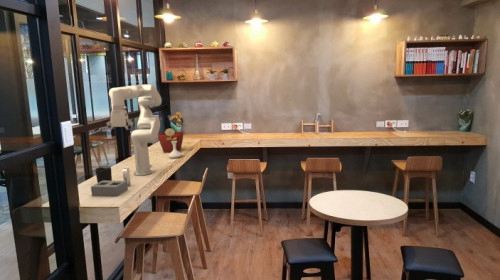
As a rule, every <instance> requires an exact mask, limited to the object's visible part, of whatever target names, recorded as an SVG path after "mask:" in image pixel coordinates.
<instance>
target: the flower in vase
mask: <svg viewBox="0 0 500 280" xmlns="http://www.w3.org/2000/svg"><path fill="white" fill-rule="evenodd" d="M164 132H165V134H166V135H167V136H168V135H169V136H170V137H171V135H174V133H175V132H176V131H175V129H174V128H166V129H165V131H164ZM176 138H177V137H176ZM176 138H174V139H173V140H175V139H176ZM170 139H171V138H167V139H166V140H170ZM171 142H172V144H173V151H172V152H169V154H168V157H169V158H170V159H171V158H172V159H176V158H181V157H182V156H183V154H182V153H181V152H180V150H179V151H177V150H176V142H177V141H171Z"/></svg>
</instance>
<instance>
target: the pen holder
mask: <svg viewBox="0 0 500 280" xmlns="http://www.w3.org/2000/svg"><path fill="white" fill-rule="evenodd" d="M94 171H95V175H96V176H95V177H96V182H97V183H99V182H101V181H113V177H112V167H111V166H109V167H97V168H95V169H94ZM97 183H96V184H97Z"/></svg>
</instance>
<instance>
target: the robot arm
mask: <svg viewBox="0 0 500 280" xmlns="http://www.w3.org/2000/svg"><path fill="white" fill-rule="evenodd" d="M108 96H109V98H110V102H111V103H110V105H111V111H110V120H108V121H107V122H105V123H106V126H107V128H108V129H109V130H110V134H111V137H115V136H116V129H115V128H122V127H124V128H125V136H126V137H131V138H130V139H131V141H132V144H133V153H134V163H135V171H134V172H133V175H134V176H139V177H140V176H148V175H151V174H152V173H153V169H151V168H152V164H151V163H150V154H149V148H148V146H147V144H152V143H156V142H157V140H158V135H159V134H160V128H161V120H160V118H158V117H155V116H153V112H152V110H151V109H150V108H149V107H159V106H161V104H162V101H163V100H162V97H161V94H160V93H159V92H158V90H157V88H156V87H155V86H154V85H153V84H151V83H149V84H136V85H128V86H127V85H126V86H120V87H112V88H110V89H109V92H108ZM132 99H137V104H138V106H139V111H140V113H139V117H138V119H137V120H138V121H137V124H136V127H137V129H134V130H133V131H132V132H130V131H131V128H132V127H133V124H134V122H133V121H132V120H130V119H129V114H128V111H127V110H126V109H127V108H128V107H127V106H126V104H125V100H126V101H127V100H132Z"/></svg>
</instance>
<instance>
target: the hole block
mask: <svg viewBox="0 0 500 280" xmlns="http://www.w3.org/2000/svg"><path fill="white" fill-rule="evenodd" d="M128 188H129V187H127V181H124V180H112V181H101V182H99V183H95V184H93V185H92V186H90V190H91V196H93V197H118V196H121V194H123V193H125V192H127V191H128V190H129V189H128Z"/></svg>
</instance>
